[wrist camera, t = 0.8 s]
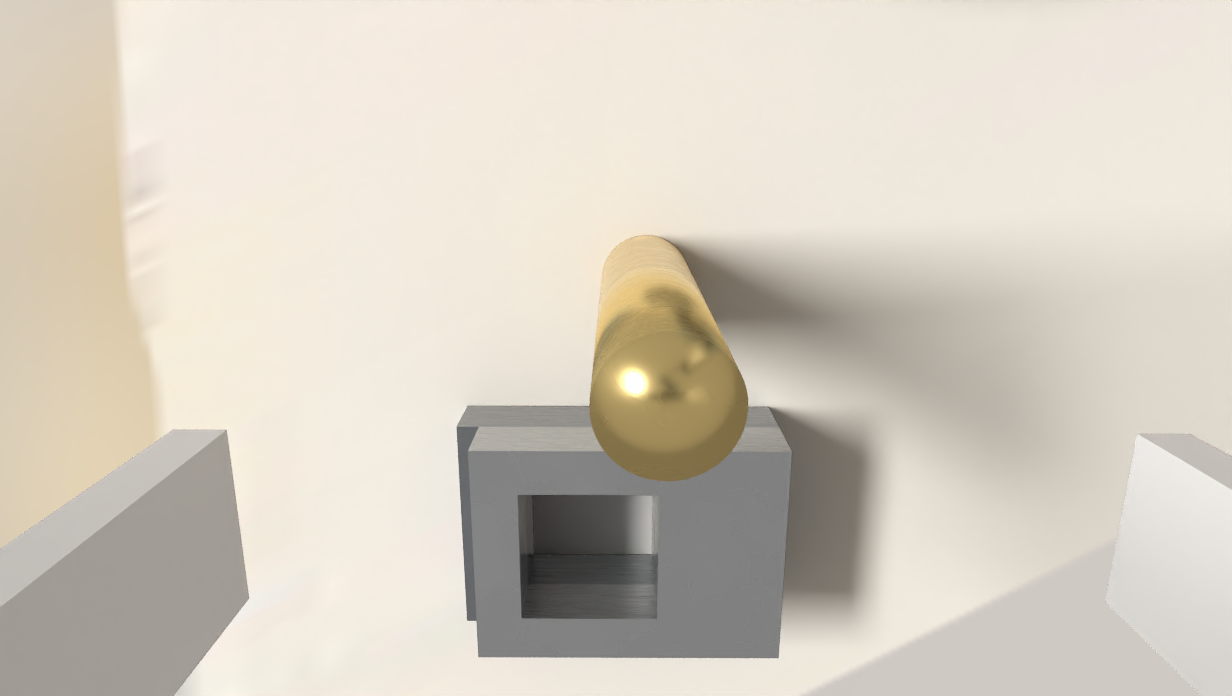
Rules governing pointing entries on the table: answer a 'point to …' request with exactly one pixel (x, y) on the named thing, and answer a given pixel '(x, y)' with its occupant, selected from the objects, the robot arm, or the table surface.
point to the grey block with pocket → (621, 584)
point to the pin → (661, 368)
